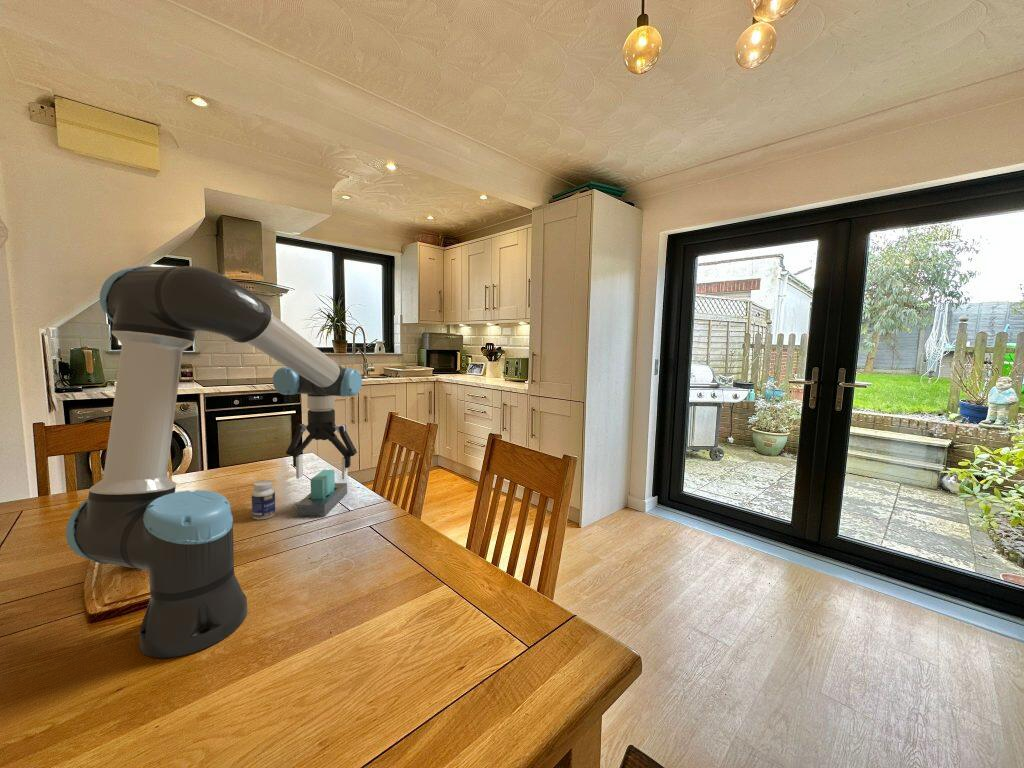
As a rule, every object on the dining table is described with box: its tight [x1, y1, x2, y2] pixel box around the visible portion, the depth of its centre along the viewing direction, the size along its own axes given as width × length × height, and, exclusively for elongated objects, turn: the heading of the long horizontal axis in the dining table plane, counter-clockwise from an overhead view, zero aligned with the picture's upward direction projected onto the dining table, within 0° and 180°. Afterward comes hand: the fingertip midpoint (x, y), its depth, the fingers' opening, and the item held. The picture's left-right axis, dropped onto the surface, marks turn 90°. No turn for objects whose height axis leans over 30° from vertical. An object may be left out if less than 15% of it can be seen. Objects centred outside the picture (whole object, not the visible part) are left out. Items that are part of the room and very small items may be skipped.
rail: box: [295, 482, 348, 518], centre depth 126 cm, size 18×8×4 cm, turn 2°
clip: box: [310, 469, 336, 499], centre depth 126 cm, size 9×4×9 cm, turn 2°
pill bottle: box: [251, 479, 276, 520], centre depth 116 cm, size 6×6×10 cm
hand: (322, 477), depth 125 cm, fingers open, 13 cm apart
